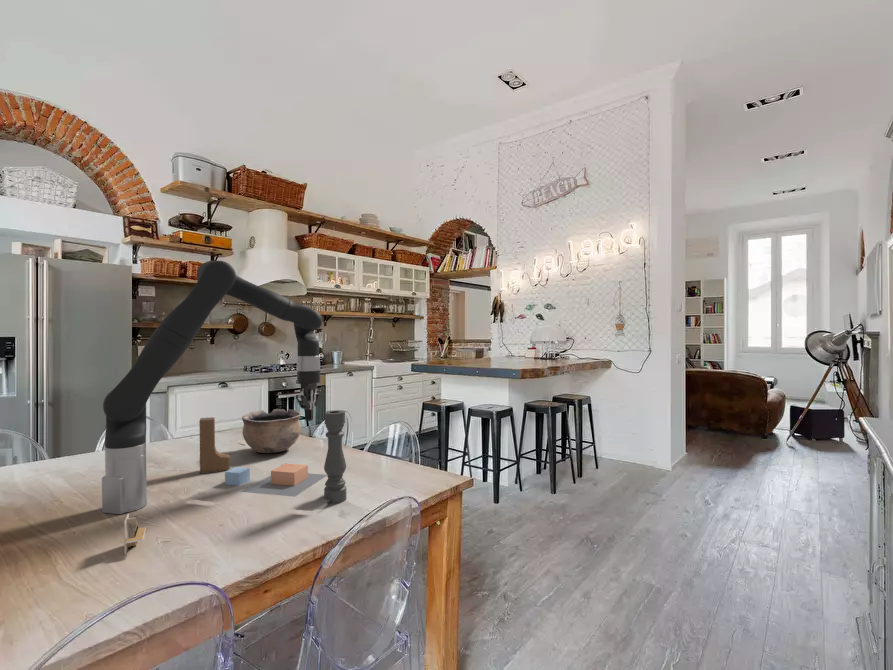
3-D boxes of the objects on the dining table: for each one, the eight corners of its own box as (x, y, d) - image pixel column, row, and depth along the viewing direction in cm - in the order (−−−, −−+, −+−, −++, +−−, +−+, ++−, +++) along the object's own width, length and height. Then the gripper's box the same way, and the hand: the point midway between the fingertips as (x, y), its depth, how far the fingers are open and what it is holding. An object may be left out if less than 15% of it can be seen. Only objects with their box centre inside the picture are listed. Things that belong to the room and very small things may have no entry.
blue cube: (239, 489, 142) (239, 473, 142) (225, 488, 143) (224, 471, 143) (249, 484, 147) (249, 468, 147) (236, 482, 148) (235, 467, 148)
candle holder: (324, 504, 129) (323, 414, 129) (324, 496, 135) (323, 410, 135) (347, 502, 131) (346, 413, 130) (345, 494, 137) (345, 409, 136)
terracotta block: (294, 485, 141) (294, 472, 141) (270, 483, 143) (270, 470, 143) (308, 477, 149) (307, 465, 149) (285, 475, 151) (285, 463, 151)
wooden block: (229, 466, 164) (228, 415, 164) (229, 470, 160) (229, 418, 160) (200, 470, 161) (200, 418, 160) (200, 473, 157) (199, 420, 156)
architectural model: (146, 542, 108) (145, 510, 107) (142, 555, 101) (142, 521, 101) (128, 546, 106) (127, 513, 106) (123, 559, 100) (123, 524, 100)
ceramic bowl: (302, 442, 198) (302, 407, 198) (300, 456, 177) (300, 417, 177) (246, 446, 192) (246, 410, 192) (237, 461, 171) (237, 420, 171)
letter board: (294, 500, 132) (294, 496, 132) (239, 495, 137) (239, 491, 137) (328, 477, 152) (328, 474, 152) (279, 474, 156) (279, 470, 156)
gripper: (308, 371, 150) (309, 424, 150) (328, 367, 163) (328, 417, 163) (287, 370, 152) (288, 423, 152) (308, 367, 165) (309, 416, 165)
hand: (309, 420), depth 158 cm, fingers closed
